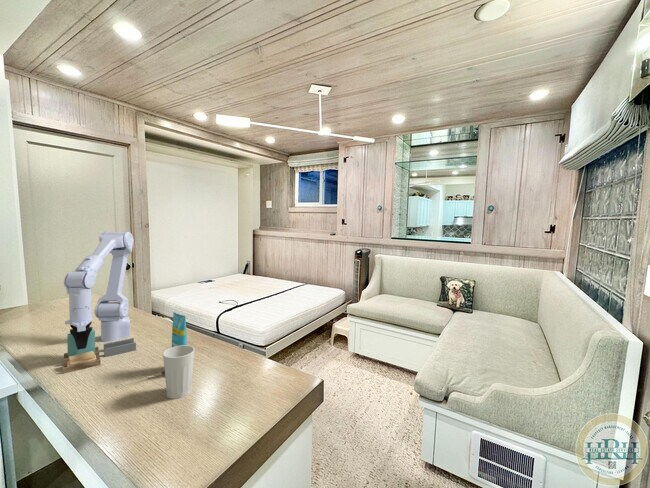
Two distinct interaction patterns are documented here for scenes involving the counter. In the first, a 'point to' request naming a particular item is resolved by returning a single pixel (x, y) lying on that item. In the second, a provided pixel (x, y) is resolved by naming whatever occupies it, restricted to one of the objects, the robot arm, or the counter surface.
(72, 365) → the offcut low
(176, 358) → the cup
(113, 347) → the holder
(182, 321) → the tube
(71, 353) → the teal block
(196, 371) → the counter surface
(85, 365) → the rack
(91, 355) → the offcut top
